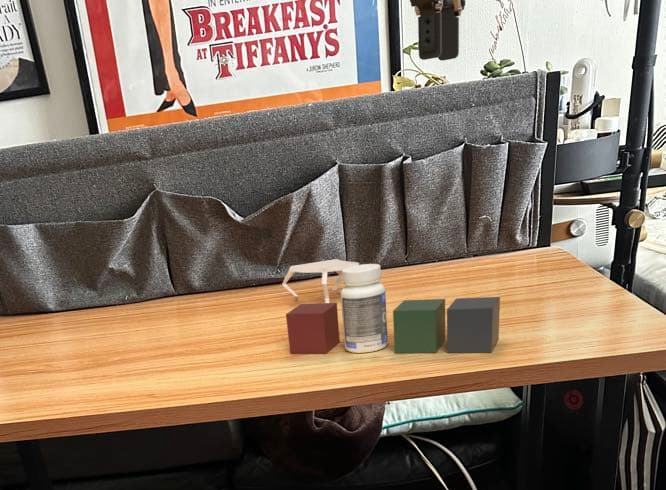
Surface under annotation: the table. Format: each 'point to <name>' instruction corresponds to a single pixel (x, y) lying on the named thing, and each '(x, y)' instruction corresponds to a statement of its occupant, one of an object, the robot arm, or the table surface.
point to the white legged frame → (324, 268)
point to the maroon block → (313, 328)
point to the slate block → (473, 325)
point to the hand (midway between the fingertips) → (439, 59)
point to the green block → (419, 326)
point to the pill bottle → (364, 309)
